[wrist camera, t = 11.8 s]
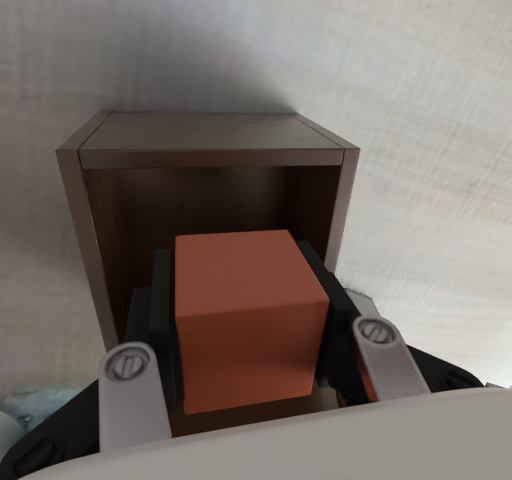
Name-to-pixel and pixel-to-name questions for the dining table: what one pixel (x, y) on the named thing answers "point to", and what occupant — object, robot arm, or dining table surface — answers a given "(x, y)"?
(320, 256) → the wooden trinket chest
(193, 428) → the lid
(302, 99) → the dining table surface
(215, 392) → the block
